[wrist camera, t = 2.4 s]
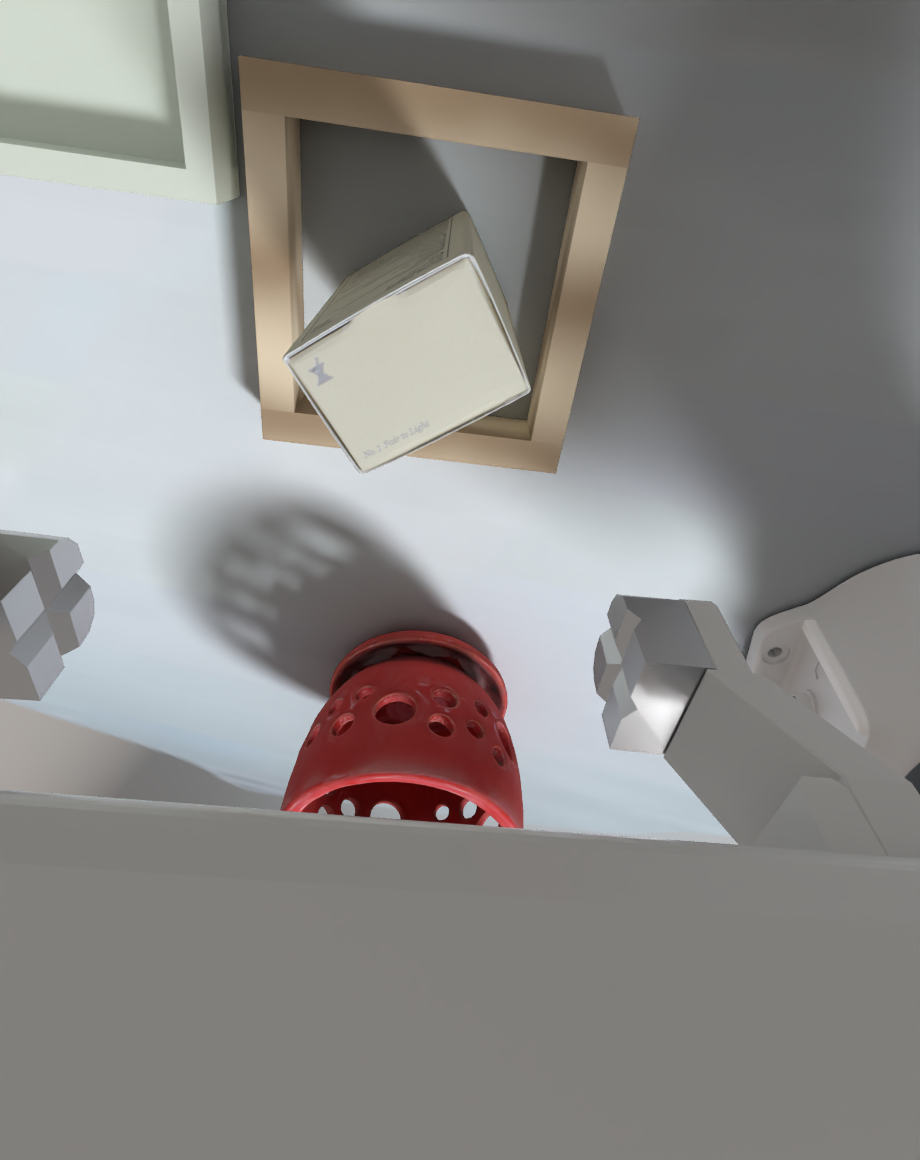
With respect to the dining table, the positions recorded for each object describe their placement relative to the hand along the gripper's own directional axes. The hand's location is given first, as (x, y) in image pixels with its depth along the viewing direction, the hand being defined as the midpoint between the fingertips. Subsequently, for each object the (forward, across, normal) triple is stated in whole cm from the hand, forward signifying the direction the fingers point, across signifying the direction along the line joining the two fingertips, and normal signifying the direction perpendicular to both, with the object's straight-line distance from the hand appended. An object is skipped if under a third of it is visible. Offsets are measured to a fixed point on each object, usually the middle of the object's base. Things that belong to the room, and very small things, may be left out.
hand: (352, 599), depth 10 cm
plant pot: (+23, -2, +25) cm, 34 cm away
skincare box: (+23, 0, 0) cm, 23 cm away
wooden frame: (+22, 0, 0) cm, 23 cm away
